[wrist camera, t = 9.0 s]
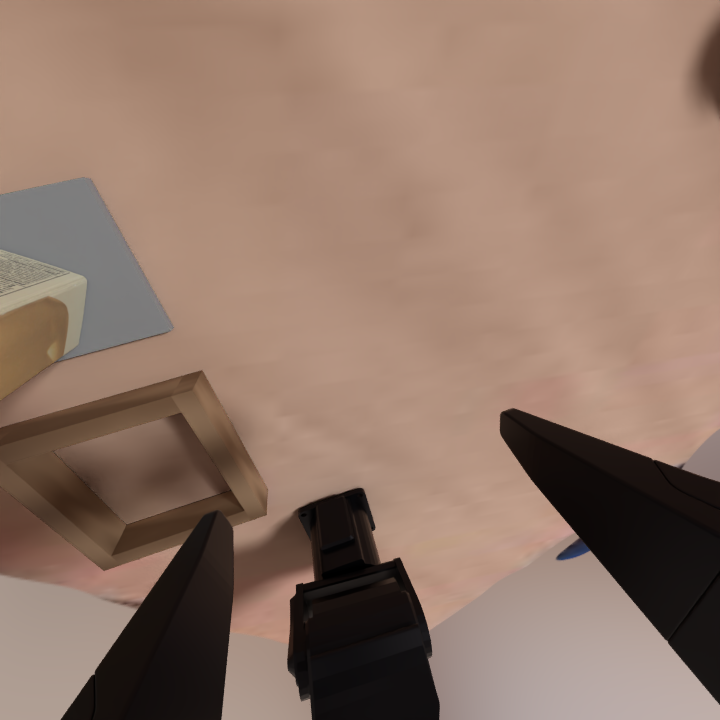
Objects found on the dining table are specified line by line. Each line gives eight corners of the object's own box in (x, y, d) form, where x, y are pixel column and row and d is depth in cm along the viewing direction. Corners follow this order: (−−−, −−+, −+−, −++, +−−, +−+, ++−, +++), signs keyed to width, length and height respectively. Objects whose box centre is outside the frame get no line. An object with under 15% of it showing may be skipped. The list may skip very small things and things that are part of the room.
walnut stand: (267, 489, 26) (266, 515, 24) (119, 539, 25) (103, 570, 22) (202, 370, 20) (192, 390, 18) (0, 427, 19) (-37, 456, 16)
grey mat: (173, 327, 18) (170, 330, 18) (-39, 384, 17) (-50, 390, 17) (90, 178, 14) (83, 177, 14) (-194, 238, 13) (-213, 239, 13)
